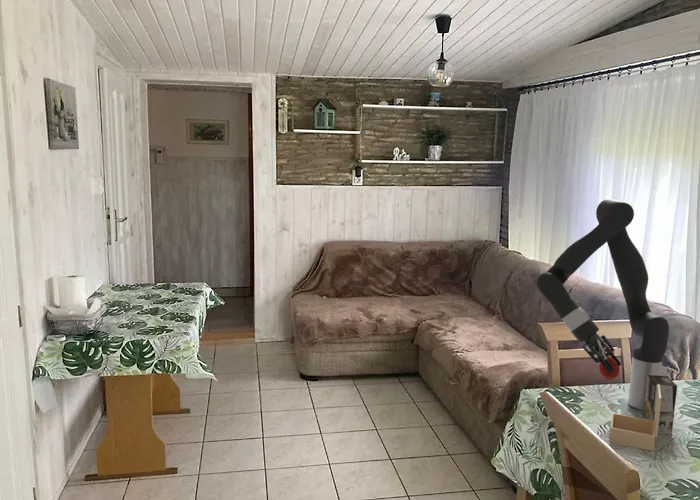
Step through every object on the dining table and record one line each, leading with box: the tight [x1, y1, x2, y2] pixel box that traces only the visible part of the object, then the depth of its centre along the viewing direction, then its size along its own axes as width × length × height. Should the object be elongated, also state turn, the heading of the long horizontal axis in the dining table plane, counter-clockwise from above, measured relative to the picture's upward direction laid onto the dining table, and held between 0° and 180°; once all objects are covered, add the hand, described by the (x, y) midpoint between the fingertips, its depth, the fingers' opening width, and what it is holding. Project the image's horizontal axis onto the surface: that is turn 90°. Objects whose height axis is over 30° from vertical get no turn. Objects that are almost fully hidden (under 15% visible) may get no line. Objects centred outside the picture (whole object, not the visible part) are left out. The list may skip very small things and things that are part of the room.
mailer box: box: [609, 384, 661, 452], centre depth 177 cm, size 12×12×16 cm
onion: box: [598, 356, 620, 381], centre depth 183 cm, size 6×6×8 cm
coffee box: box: [642, 375, 678, 436], centre depth 185 cm, size 9×6×16 cm
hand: (615, 368), depth 182 cm, fingers closed on onion, 5 cm apart
